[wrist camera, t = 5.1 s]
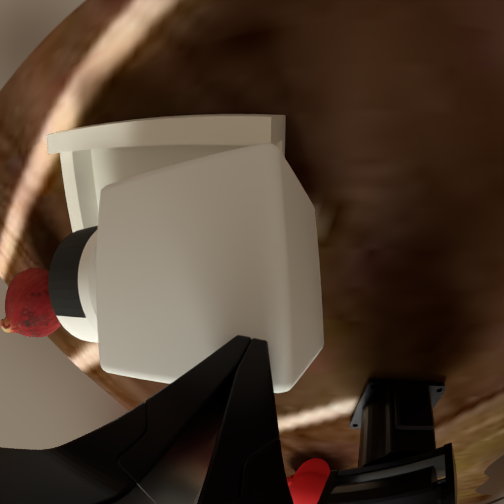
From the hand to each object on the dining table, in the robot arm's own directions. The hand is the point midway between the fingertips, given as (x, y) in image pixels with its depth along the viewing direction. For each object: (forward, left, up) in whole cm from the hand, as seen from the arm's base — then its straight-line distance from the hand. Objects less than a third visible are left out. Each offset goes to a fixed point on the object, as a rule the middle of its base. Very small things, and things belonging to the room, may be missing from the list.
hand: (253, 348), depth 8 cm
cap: (-29, -5, -10) cm, 31 cm away
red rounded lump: (-8, +20, -10) cm, 24 cm away
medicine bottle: (0, -1, -4) cm, 4 cm away
